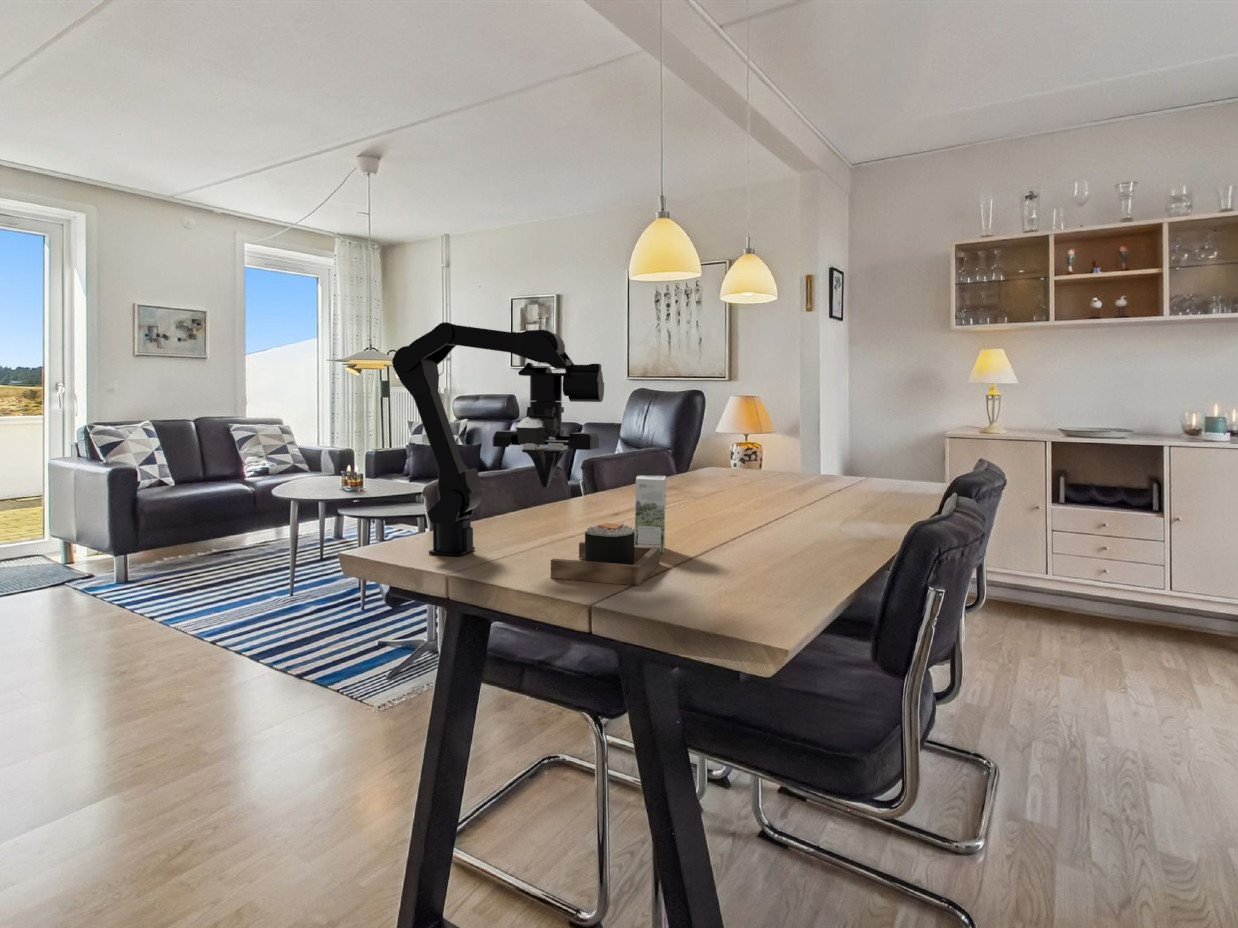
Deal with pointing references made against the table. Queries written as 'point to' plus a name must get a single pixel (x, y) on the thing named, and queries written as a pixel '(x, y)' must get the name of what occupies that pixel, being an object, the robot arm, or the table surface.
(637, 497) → the syrup box
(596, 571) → the tray
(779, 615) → the table surface
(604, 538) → the sushi
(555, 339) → the robot arm
